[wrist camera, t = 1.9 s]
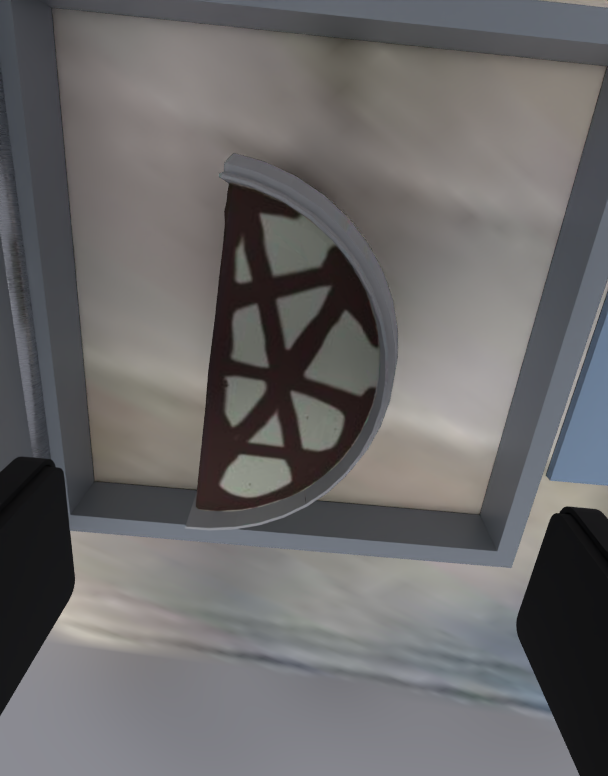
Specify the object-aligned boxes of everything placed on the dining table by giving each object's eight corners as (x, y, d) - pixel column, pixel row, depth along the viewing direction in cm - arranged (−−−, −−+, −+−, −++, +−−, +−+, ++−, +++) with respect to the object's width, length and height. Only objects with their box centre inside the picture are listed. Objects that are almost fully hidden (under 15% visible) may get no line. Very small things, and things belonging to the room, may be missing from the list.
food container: (343, 430, 27) (359, 566, 18) (229, 412, 26) (183, 540, 17) (400, 185, 22) (462, 195, 13) (260, 158, 22) (221, 149, 12)
